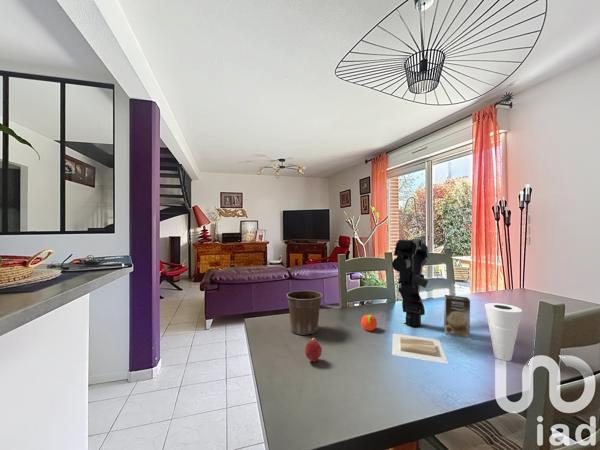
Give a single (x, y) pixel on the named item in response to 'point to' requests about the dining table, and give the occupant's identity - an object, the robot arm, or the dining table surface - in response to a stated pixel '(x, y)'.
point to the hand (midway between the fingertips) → (406, 304)
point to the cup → (503, 328)
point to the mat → (397, 351)
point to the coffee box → (457, 316)
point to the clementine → (368, 322)
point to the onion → (313, 350)
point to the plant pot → (304, 311)
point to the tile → (418, 346)
